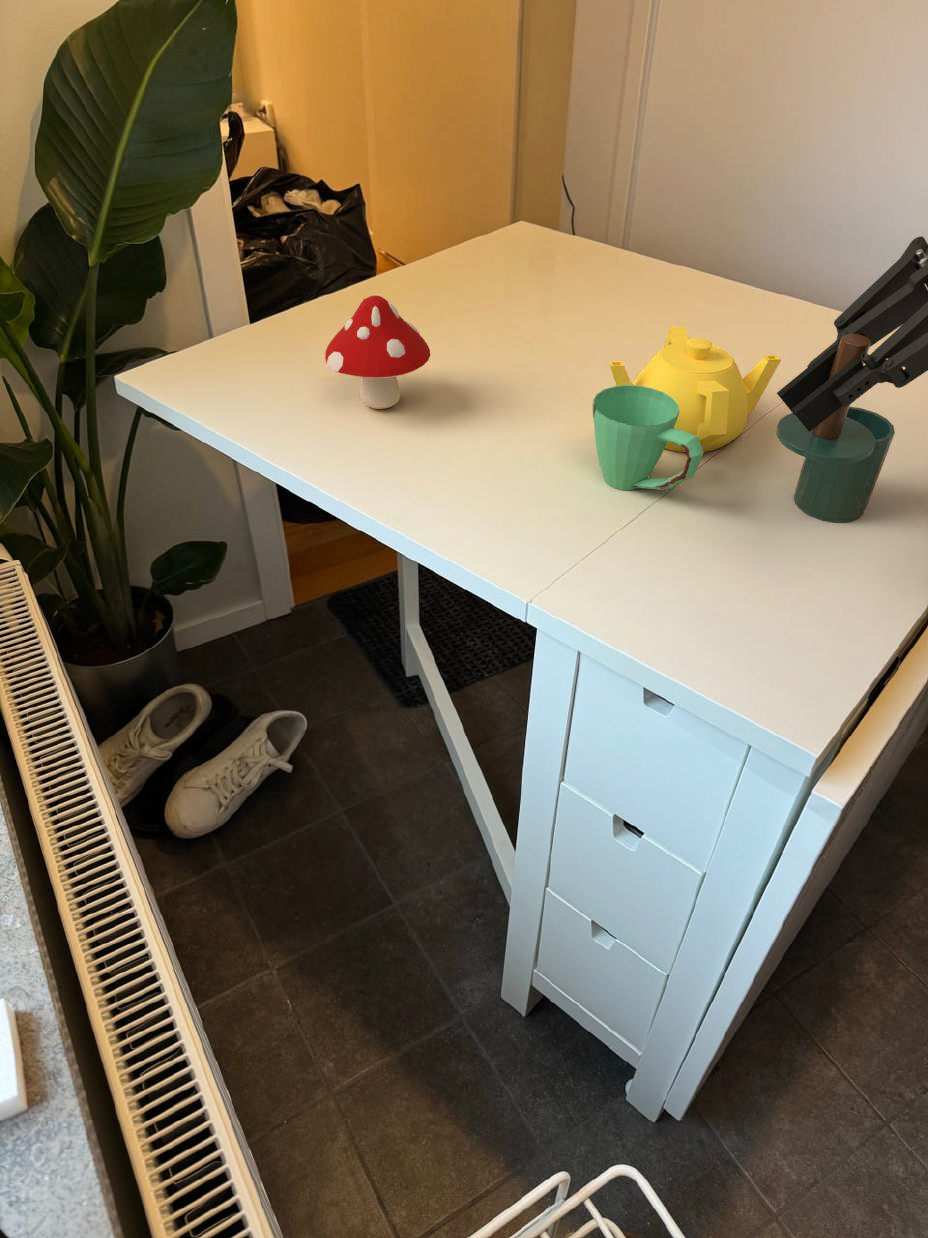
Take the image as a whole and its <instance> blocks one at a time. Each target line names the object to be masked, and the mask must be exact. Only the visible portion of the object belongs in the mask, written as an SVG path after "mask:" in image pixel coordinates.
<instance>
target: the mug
mask: <svg viewBox="0 0 928 1238" xmlns="http://www.w3.org/2000/svg"><path fill="white" fill-rule="evenodd" d="M591 408H592V417H593V426H594V438H595V439H594V440H595V447H596V451H597V456H598V462H599V466H600V469H601V473H602V476H603V480H604V482H605V483H606V484H607V485H608V486H609V487H611V488H613V489H616V490H620V491H635V490H638V489H650V490H659V491H660V490H662V491H665V490H667V489H669V488H671V487H674V486H676V485H679V484H681V483H683V482H685V481H687V480H689V479H691V478H693V477H694V476H695V475H696V473H697V472H698V468H699V465H700V463H701V460H702V457H703V455H704V452H703V449H702V446H701V444H700V441H699V438H698V437H696V436H694V435H692V434H690V433H688V432H685V431H682V430H678V429H674V426H675V423H676V421H677V419H678V416H679V406H678V404H677V402H676V401H675V400H674V399H673V398H672V397H670V396H669V395H667V394H665V393H664V392H661V391H659V390H656V389H653V388H649V387H644V386H635V385H622V386H616V385H614V386H611V387H607V388H604V389H602V390H601V391H599V392H598V393H596V394H595V396H594V398H593V399H592V407H591ZM667 442H671V443H675V444H677V445H679V446H680V447H682V448H684V449H685V450H686V452H685V453H686V456H687V457H686V458H687V459H686V462H685V466H684V468H683V470H681V471H680V472H678V473H677V474H675V475H673V476H671V477H669V478H664V477H650V475H651V474H652V473H653V471H654V469H655V467H656V466H657V464H658V462H659V460H660V459H661V458H662V454H663V453H664V451H665V449H664V448H665V446H666V443H667Z"/></svg>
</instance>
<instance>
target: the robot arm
mask: <svg viewBox="0 0 928 1238" xmlns="http://www.w3.org/2000/svg"><path fill="white" fill-rule="evenodd" d="M833 326H834V327H835V328H836V333H837V336H836V339H835V341H834V342H833V343H832V344H830V345H829V346H828V347H826V348H825V349H824V350H823V351H822V352H821V353H820V354H818V355H817V356H816V357H815V358H813V359H812V360H811V361H810V362H809V363H808V364H807V366H806V368H805V369H804V370H803V371H801V372H800V373H799V374H797V376H795V378H793V379H791V381H789V382H788V383H787V384H785V385H784V386H783V387H782V388H781V389H779V390H778V391H777V392H776V394H777V396H778V397H779V398H780V399H781V401H782V403H784V405H785V406H786V407H787V408H788V409H789V411H790V412H791V413H793V414H794V415H796V416H797V418H798V419H799V420H800V421H801V423H802V424H803V425H804V426H805V427H806V429H807V430H808V431H809V432H810V431H811V430H813V429H814V428H815V427H816V426H818V425H819V424H820V423H821V422H823V421H824V420H825V419H827V418H828V417H829V416H830V415H832V414H833V413H834V412H835V411H837V410H838V409H839V408H841V407H842V406H844V407H845V406H847V405H850V406H851V404H853V403H854V402H856V401H857V400H858V399H860V397H861V396H863V395H864V394H866V393H867V392H868V391H869V390H871V389H872V388H873V387H875V386H876V385H878V384H884V383H889V384H891V385H892V384H893V386H894V387H895V388H897V389H900V388H903V387H905V386H907V385H908V384H910V383H911V382H913V381H914V380H917V378H919V377H920V376H922V375H923V374H925V373H926V372H928V242H927V241H926V238H925V237H924V236H922V235H921V236H917V237H914V238H913V239H912V240H911V241H910V242H909V244H908V246H907V247H906V249H905V250H904V252H903V253H902V255H901V256H900V258H898V259H897V260H896V261H895V263H893V264H892V265H891V266H890V267H889V268H888V269H887V270H886V271H885V272H884V273H882V275H881V276H880V277H878V278H877V279H876V280H875V281H874V282H873V283H872V284H871V285H870V286H869V287H868V288H867V289H866V290H864V292H862V294H860V296H858V298H857V299H856V300H854V301H853V302H851V304H850V305H849V306H848V307H846V309H845V310H844V311H843V312H842V313H840V314H839V316H837V318H836V319H834V322H833ZM891 333H892V334H891ZM845 334H858V335H862V336H865V337H867V338H869V339H870V341H871V344H870V347H869V349H870V348H871V347H872V346H874V345H875V344H877V343H878V342H879V341H881V340H882V339H884V338H885V337H887V336H889V335H890V334H891V335H890V336H889V337H887V338H886V339H885V340H884V341H883V342H882V343H881V344H880V345H879V346H878V347H877V348H876V349H874V351H873V352H871V353H870V354H869V353H865V352H863V353H862V354H861V359H862V361H863V362H864V365H863V364H862V363H861V361H860V360H859V359H858V358H855V359H854V360H852V361H851V362H850V363H849V364H847V365H846V366H845V367H844V368H842V369H841V370H840V371H839V372H837V373H836V374H835V375H834V376H832V377H831V378H830V379H829V376H830V373H831V370H832V366H833V363H834V360H835V357H836V353H837V350H838V347H839V344H840V341H841V338H842V336H843V335H845ZM828 379H829V380H828Z"/></svg>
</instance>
